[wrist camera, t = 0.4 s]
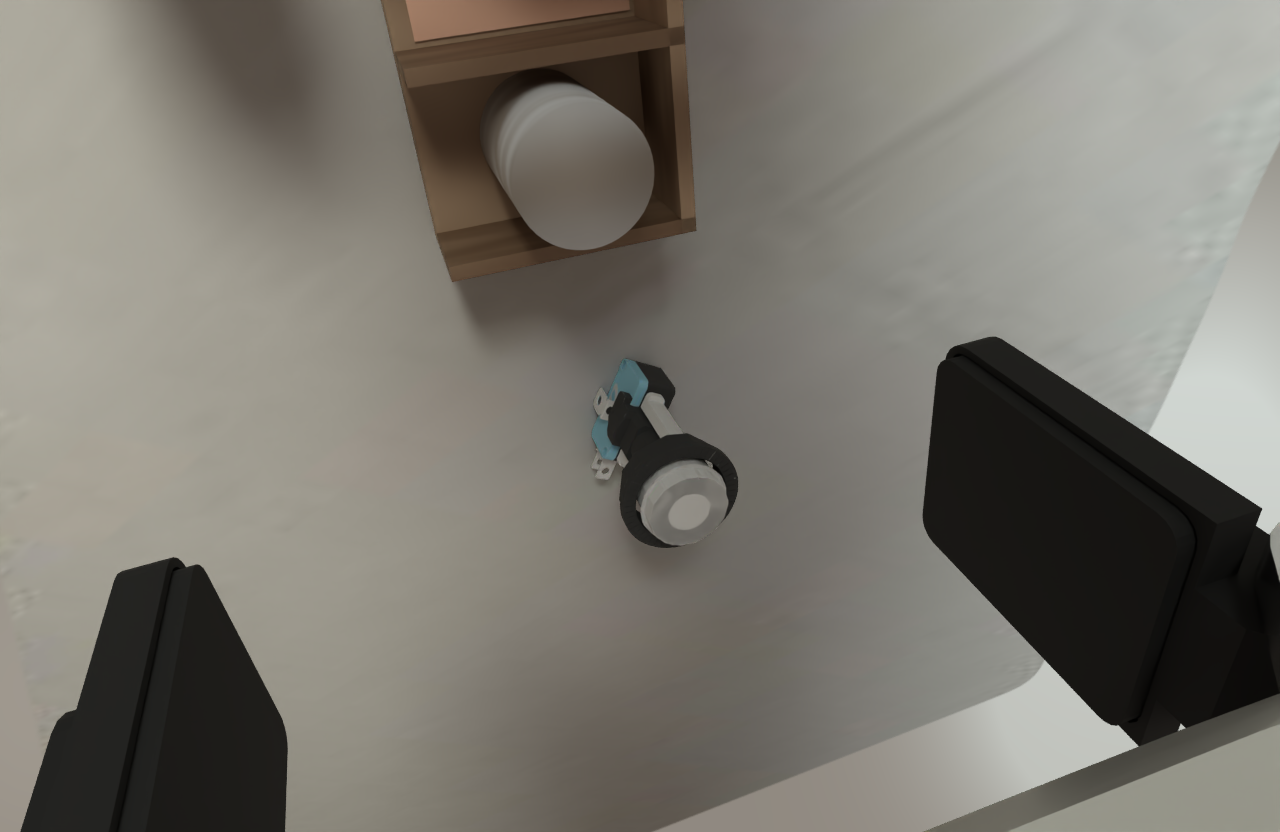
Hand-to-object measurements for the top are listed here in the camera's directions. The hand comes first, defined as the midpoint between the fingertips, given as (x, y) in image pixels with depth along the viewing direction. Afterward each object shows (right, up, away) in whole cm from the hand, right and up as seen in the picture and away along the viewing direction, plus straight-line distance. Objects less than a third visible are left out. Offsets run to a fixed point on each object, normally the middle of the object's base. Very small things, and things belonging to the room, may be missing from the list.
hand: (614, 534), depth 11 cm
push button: (-1, +2, +34) cm, 34 cm away
